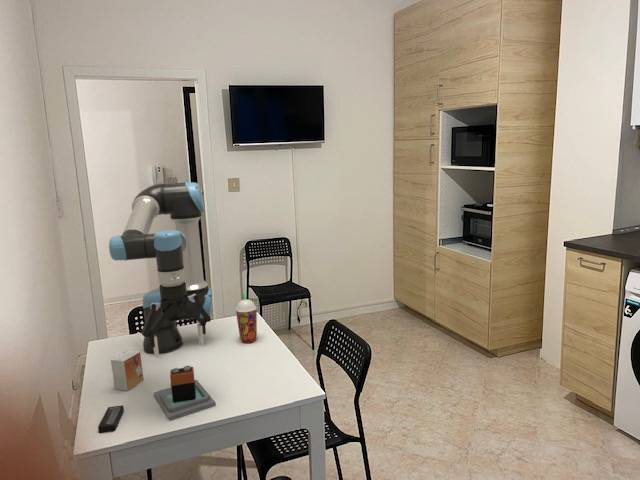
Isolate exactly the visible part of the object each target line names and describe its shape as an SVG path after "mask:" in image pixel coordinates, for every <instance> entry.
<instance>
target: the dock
mask: <svg viewBox="0 0 640 480" xmlns="http://www.w3.org/2000/svg"><path fill="white" fill-rule="evenodd" d="M195 389H196V398H195V399H193V400H187V401H180V402H173V398H172V389H171V386H169V387H167V388H163V389H160V390H159V389H158V390H156V391H153V396H154V398H155V400H156V402H157V403H158V405H159V406H160V408H161V409H162V411H163V414H165V416H166V418H167V420H168V421H169V422H170V421H173V420H177V419H180V418H183V417H185V416H188V415H191V414H194V413H198V412H201V411H203V410H206V409H207V410H208V409H209V408H213V407H216V406H217V404H216V401H215V400H214V399H213V397H212V396H211V395H210V394H209V393H208V391H207V390H206V388H204V387H203V385H202V384H201V382H199V380H197V379H195Z"/></svg>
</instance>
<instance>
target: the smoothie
mask: <svg viewBox="0 0 640 480" xmlns="http://www.w3.org/2000/svg"><path fill="white" fill-rule="evenodd" d="M243 296H244V298H243V299H241V300H240V301H239V302H238V303H237V305H236V308H235V314H236V321H237V326H238V327H237V328H238V332H239V339H240V341H241V342H242V343H245V344H250V343H254V342H255V341H256V340H257V337H258V336H257V335H258V330H257V328H258V325H257V324H258V323H257V319H258V318H257V316H258V315H257V309H258V307H257V306H256V303H254V301H253V300H251V299H247V293H246V292H244V295H243Z"/></svg>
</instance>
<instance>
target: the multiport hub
mask: <svg viewBox="0 0 640 480" xmlns="http://www.w3.org/2000/svg"><path fill="white" fill-rule="evenodd" d="M124 413H125V408H124V405H121V404H120V405H114V406H113V405H112V406H108V407H107V409H106V411H105V412H104V414H103V417H102V418H101V421H99V424H98V425H97V428H98V433H99V434H104V433H112V432H116V430H117V428H118V426H119V424H120V421H121V420H122V417H123V416H124Z"/></svg>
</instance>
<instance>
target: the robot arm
mask: <svg viewBox="0 0 640 480" xmlns="http://www.w3.org/2000/svg"><path fill="white" fill-rule="evenodd" d="M205 211H206V207H205V201H204V196H203V193H202V189H201V186H200V185H199V183H197V182H189V181H185V182H175V183H174V182H172V183H158V184H153V185H150V186H148V187H146V188H145V189H143V190H142V191H141V192H139V193H137V195H136V196H135V197H134V199H133V200H132V204H131V213H130V215H129V218H128V221H127V222H126V226H125V227H124V230H123V232H122V234H121V235H117V236H116V235H115V236H111V237H110V239H109V243H108V250H109V255H110V257H111V259H112V260H114V261H124V262H125V261H130V260H131V261H133V260H142V259H143V260H144V259H155V260H156V268H157V270H156V271H157V276H158V284H159V287H158V288H155V289H152V290H149V291H148V292H146V293H145V294H143V296H142V308H143V316H144V317H143V318H144V324H143V327H142V329H141V332H140V333H141V335H142V336H143V337H144V338H143V343H142V346H143V351H144V353H146V354H150V355H151V354H152V355H154V356H155V358H156V359H159V358H160V355H161V354H166V353H171V352H174V351H176V350H178V349H180V348H181V347H182V346H183V344H184V341H183V336H182V334H181V332H180V330H179V328H178V326H177V322H178V321H185V320H186V321H187V320H196V321H197V322H198V323H197V324H196V326H197V327H196V329H197V338H198V344H199V345H200V346H201V347H203V346H205V341H204V335H206V334H207V333H206V332H207V329H206V326H207V323H210V322H211V321H212V319H211V313H212V307H213V305H212V303H213V288H212V287H209V283H207V282H206V280H205V279H204V271H203V270H204V268H203V259H202V249H201V239H200V229H199V227H200V226H199V221H200V220H201V218H202V216H203V215H202V213H205ZM159 215H161V216H162V215H170V220H171V221H172V222H173V223H174V224H175V230H174V229H168V230H167V229H166V230H160V231H157V232H155V233H150V230H151V228H152V225H153V221H154V219H155V218H156V217H158V216H159Z"/></svg>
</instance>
